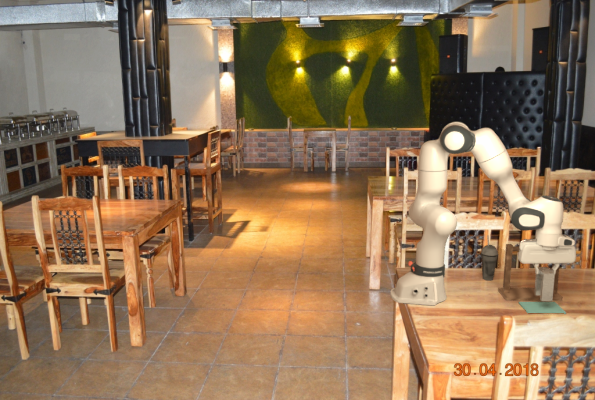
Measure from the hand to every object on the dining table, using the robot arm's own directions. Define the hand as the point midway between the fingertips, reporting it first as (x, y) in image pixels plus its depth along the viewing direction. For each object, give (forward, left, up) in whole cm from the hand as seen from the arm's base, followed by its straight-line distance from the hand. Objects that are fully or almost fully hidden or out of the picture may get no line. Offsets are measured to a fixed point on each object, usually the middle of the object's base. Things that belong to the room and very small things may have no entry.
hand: (545, 273), depth 203 cm
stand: (0, +12, -14) cm, 19 cm away
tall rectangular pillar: (0, 0, -10) cm, 10 cm away
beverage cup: (-11, +31, -14) cm, 36 cm away
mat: (0, 0, -14) cm, 14 cm away
